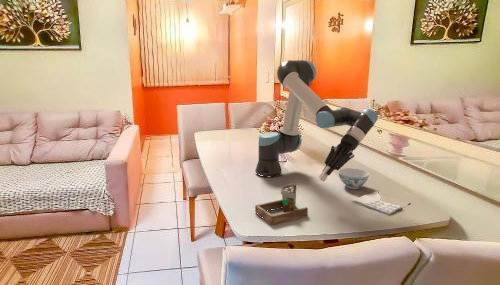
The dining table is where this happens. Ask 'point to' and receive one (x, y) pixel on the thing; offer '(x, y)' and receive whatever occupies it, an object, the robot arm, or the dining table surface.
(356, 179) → the chinaware
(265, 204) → the caddy
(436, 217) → the dining table surface
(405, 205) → the dining table surface
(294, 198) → the food container
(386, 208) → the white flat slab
